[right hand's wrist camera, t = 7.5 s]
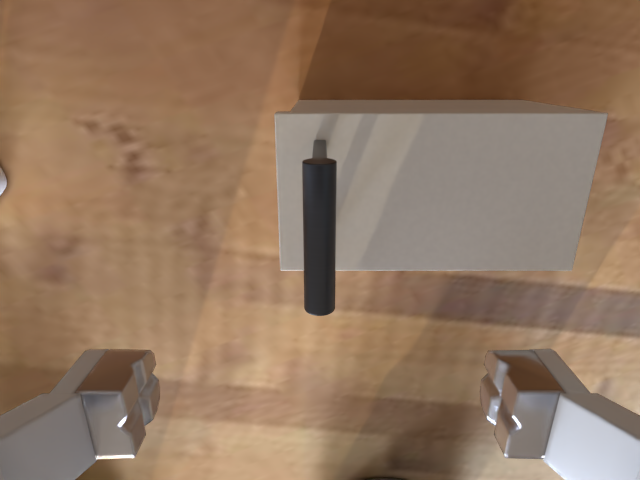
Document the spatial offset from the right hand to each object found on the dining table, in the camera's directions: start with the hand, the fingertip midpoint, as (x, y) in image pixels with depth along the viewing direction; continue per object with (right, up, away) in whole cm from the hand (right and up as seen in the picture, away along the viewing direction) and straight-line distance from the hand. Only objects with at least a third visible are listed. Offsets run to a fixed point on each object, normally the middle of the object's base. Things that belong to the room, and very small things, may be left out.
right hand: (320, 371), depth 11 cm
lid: (+7, +6, +16) cm, 18 cm away
